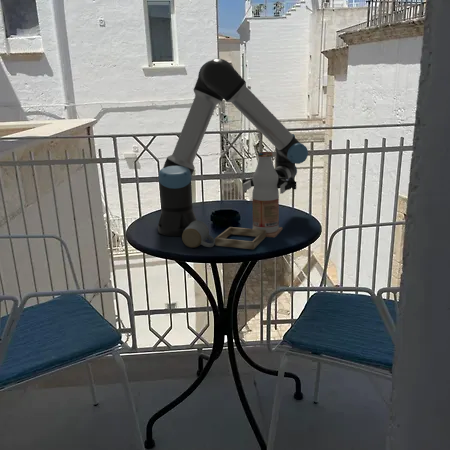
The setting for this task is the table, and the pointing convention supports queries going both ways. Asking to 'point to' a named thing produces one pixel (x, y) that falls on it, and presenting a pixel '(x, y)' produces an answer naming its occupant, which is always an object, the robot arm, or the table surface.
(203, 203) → the table surface
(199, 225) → the ceramic mug
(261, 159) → the fruit juice
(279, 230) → the terracotta tile
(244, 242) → the birch collar
